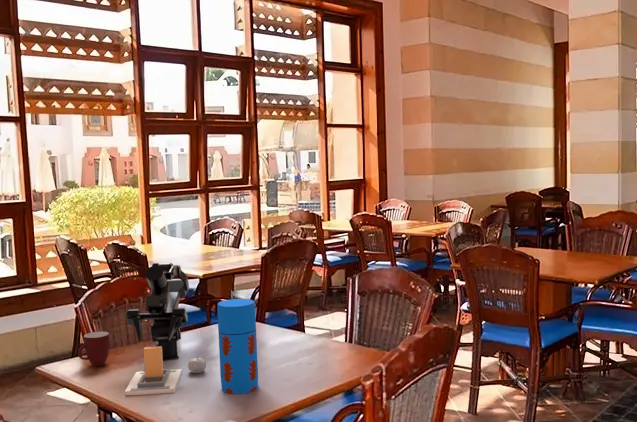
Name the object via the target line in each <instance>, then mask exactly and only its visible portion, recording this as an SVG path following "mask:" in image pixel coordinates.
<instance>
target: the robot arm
mask: <svg viewBox="0 0 637 422" xmlns="http://www.w3.org/2000/svg"><path fill="white" fill-rule="evenodd" d="M144 275H145V278H146V281H147V284H148V286H149V288H150V289H151V290H150V295H146V296H145V298H144V301H145V302H144V307H145V309H146V311H147V312H148V313H147V312H143V313H141V310H140V309H139V308H138V309H135V308H134V309H128V310H127V311H125V319H126V321H127V323H128V325H129V326H132V327H133V328H135V332H136V336H137V339H138V340H137V341H138V342H139V343H140V342H141V341H142V340H141V339H142V336H143V335H142V334H143V320H153V322H152V323H151V325H150V332H151V339H152V342H156V344H154V347H157V346H162V358H163V361H168V360H176V359H179V358H180V357H179V355H178V342H177V341H179V340H182V334H181V330H180V326H183V325H184V324H186V323H188V320H189V319H188V316H189V315H188V312H187V310H186V309H185V307H179V304H180V300H181V299H184V298H186V296H187V293H188V292H189V290H190V289H189V287H190V284H189V278H188V275H187V274H186V273H185V272H184V271H183V270H182V268H181V265H179V264H173V263H172V262H155V263H152V264H151V266H150V267H148V268H147V269H146V271H145V272H144ZM174 277H178V278H174Z"/></svg>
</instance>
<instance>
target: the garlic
mask: <svg viewBox="0 0 637 422" xmlns="http://www.w3.org/2000/svg"><path fill="white" fill-rule="evenodd" d="M203 358H204V356H202V355H198V356H197V357H194V358H192V359H190V360H189V361H188V366H187V368H188V369H189V371H190V372H191V373H193V374H201V373H203V372H205V370H206V368H207V362H206V360H204V359H203Z"/></svg>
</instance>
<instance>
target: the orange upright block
mask: <svg viewBox="0 0 637 422" xmlns="http://www.w3.org/2000/svg"><path fill="white" fill-rule="evenodd" d="M143 356H144V357H143V360H144V371H145V381H161V380H162V379H163V377H164V374H163V369H164V362H163V361H164V360H163V358H162V346H157V347H155V346H145V347H144V348H143Z"/></svg>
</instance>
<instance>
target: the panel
mask: <svg viewBox="0 0 637 422" xmlns="http://www.w3.org/2000/svg"><path fill="white" fill-rule="evenodd" d="M163 374H164V377H163V379H162V380H161V381H145V370H144V371H143V370H140V371H136V372H135V374H134V375H133V377H132V379H131V380H130V382H129V383H128V384H127V387H125V391H124V396H137V395H141V396H142V395H154V394H156V395H157V394H172V393H173V394H175V392H176V391H177V387H178V385H179V382H180V380H181V377H182V375H183V369H182V368H181V369H179V368H178V369H177V368H176V369H174V368H173V369H171V368H166V369H165V368H163Z"/></svg>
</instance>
